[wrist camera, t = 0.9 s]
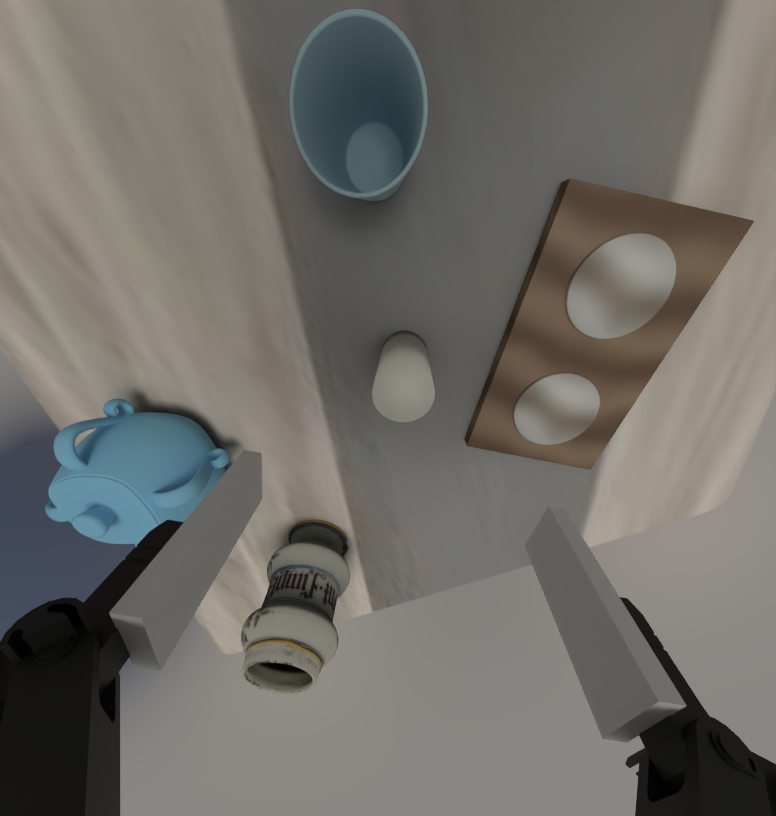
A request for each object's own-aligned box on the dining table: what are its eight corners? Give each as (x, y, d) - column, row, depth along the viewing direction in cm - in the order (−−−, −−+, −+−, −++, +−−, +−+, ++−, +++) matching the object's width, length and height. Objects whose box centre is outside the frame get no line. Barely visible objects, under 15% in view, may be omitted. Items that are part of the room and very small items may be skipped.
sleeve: (386, 326, 32) (377, 359, 22) (431, 336, 32) (442, 372, 22) (378, 369, 34) (367, 416, 25) (420, 378, 34) (426, 427, 25)
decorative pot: (141, 371, 36) (8, 430, 24) (256, 445, 40) (191, 526, 28) (106, 451, 43) (-14, 529, 31) (208, 508, 47) (139, 596, 35)
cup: (438, 139, 25) (456, 71, 15) (393, 233, 28) (385, 224, 19) (356, 79, 23) (322, -35, 14) (319, 185, 26) (271, 150, 17)
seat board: (561, 182, 25) (573, 177, 24) (736, 222, 26) (760, 220, 24) (464, 439, 38) (467, 448, 36) (584, 462, 39) (592, 472, 37)
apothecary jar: (359, 564, 51) (338, 705, 35) (292, 564, 52) (242, 701, 36) (349, 513, 46) (318, 654, 30) (274, 515, 47) (205, 651, 31)
